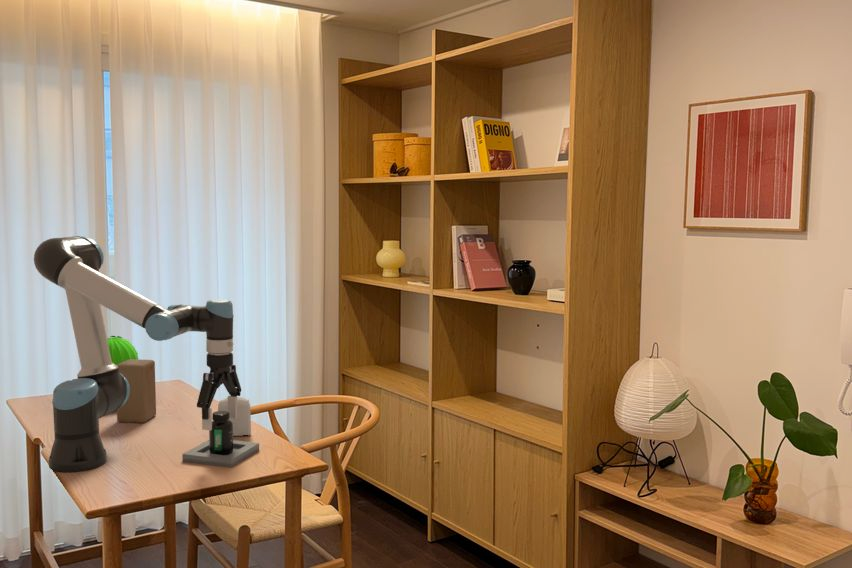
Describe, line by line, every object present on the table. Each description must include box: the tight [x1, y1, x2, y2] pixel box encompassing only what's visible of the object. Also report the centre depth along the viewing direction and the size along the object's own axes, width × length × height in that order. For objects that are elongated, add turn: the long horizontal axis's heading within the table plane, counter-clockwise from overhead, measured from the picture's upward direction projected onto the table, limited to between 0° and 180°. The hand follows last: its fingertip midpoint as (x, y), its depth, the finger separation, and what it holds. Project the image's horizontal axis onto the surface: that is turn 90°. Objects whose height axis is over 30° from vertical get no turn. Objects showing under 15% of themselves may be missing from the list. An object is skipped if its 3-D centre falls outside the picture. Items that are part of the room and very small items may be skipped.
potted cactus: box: [107, 335, 139, 365], centre depth 288 cm, size 22×22×25 cm
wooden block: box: [116, 358, 157, 424], centre depth 266 cm, size 10×10×20 cm
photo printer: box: [217, 396, 252, 437], centre depth 249 cm, size 10×4×12 cm, turn 96°
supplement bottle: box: [208, 410, 234, 455], centre depth 229 cm, size 7×7×12 cm
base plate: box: [181, 439, 260, 468], centre depth 230 cm, size 16×16×2 cm
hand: (219, 423), depth 229 cm, fingers open, 13 cm apart
